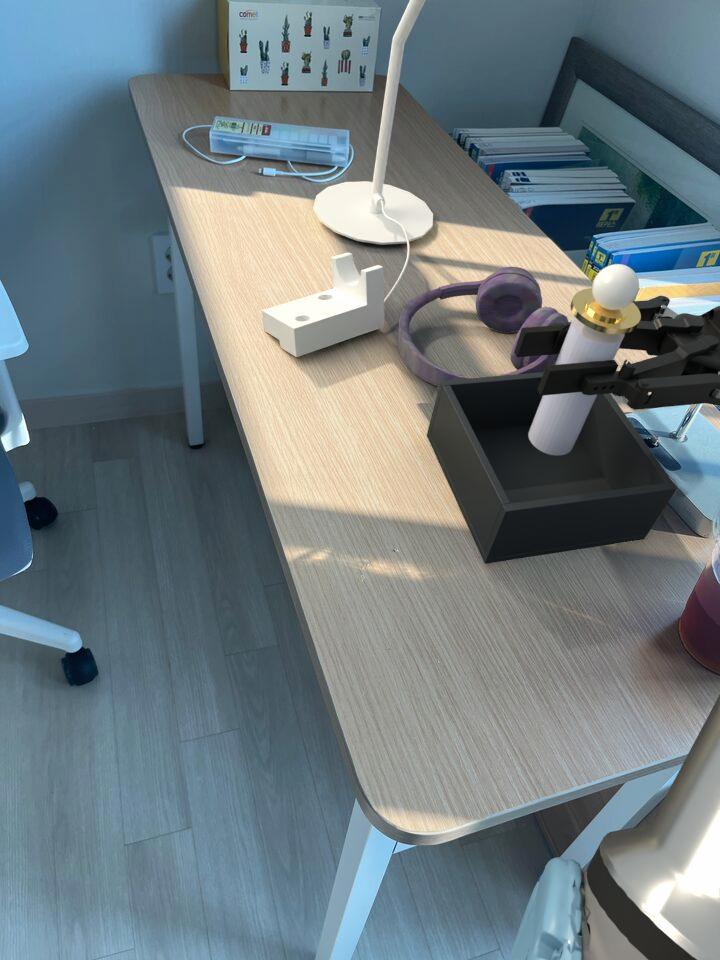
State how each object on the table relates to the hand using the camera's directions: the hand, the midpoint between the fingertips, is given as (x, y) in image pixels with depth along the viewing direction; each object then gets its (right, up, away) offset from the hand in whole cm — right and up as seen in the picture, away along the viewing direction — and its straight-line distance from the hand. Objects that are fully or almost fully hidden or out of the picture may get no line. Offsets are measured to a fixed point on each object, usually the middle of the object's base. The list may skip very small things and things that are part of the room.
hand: (531, 361), depth 66 cm
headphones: (-1, +5, +28) cm, 29 cm away
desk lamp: (-11, +23, +43) cm, 50 cm away
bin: (+3, -11, +14) cm, 18 cm away
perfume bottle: (+4, -7, +10) cm, 12 cm away
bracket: (-20, +8, +28) cm, 35 cm away
